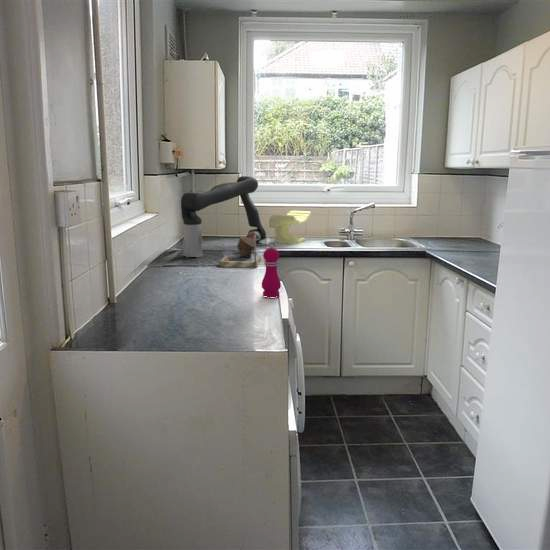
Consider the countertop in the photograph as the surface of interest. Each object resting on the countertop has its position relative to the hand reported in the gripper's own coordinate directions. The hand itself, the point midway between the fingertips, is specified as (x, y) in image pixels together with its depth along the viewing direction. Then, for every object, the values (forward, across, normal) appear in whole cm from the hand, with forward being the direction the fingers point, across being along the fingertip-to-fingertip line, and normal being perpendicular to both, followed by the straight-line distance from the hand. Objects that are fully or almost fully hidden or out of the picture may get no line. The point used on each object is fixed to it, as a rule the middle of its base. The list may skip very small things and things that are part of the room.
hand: (248, 243), depth 276 cm
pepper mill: (+83, +22, +6) cm, 86 cm away
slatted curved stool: (-47, +19, +6) cm, 52 cm away
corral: (+24, 0, +6) cm, 24 cm away
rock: (+6, 0, +6) cm, 8 cm away
